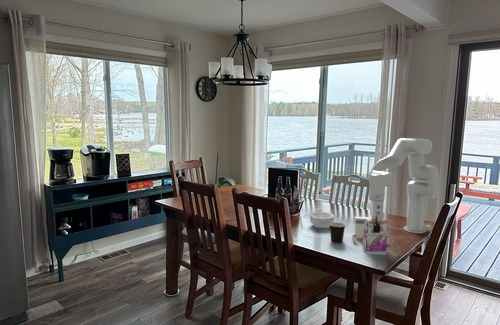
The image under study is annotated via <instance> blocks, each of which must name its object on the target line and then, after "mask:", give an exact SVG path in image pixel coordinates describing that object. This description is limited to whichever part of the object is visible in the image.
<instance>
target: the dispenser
mask: <svg viewBox="0 0 500 325" xmlns="http://www.w3.org/2000/svg"><path fill="white" fill-rule="evenodd" d="M364 219H371V216H369V217H368V216H354V228H353V229H354V231H353V233H351V241H352V243H353V244H357V239H363V235H364ZM388 239H389V236H388V235H387V245H388V242H389V241H388Z"/></svg>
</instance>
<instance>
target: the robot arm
mask: <svg viewBox="0 0 500 325" xmlns="http://www.w3.org/2000/svg"><path fill="white" fill-rule="evenodd" d="M432 150H433V142H432V141H431V139H429V138H413V137H411V138H409V137H407V138H406V137H402V138H399V139H397V141H396V142H395V143H394V146H393V147H392V149H391V150H390V152H389V153H388V155H387V156H385V157H383V158H382V159H380V160H378V161H377V162H375V163H374V164H373V166H372V167H371V169H370V170H369V174H368V176H367V180H368V182H369V190H368V200H369V201H370V207H369V209H370V210H369V216H370V217H371V219H374V229H373V232H374V233H380V219H381V220H383V219H384V202H385V193H386V192H385V188H386V187H393V186H394V185H395V184H396V183H397V181H398V180H397V179H398V177H397V176H396V174H395V173H394V172H391V171H385V170H388V169H393V168H396V167H400V166H402V165H403V164H404V162H405V160H406V159H407V158H408V175H409V177H410V178H411V179H413V180H409V182H407V184H406V192H407V193H406V194H407V207H406V225H404V226H403V231H405V232H408V233H412V234H425V233H426V230H427V229H428V230H429V229H430V230H432V229H433V228H432V225H428V224H425V223H424V222H425V221H424V220H425V219H424V218H425V201H424V199H425V198H426V199H436V198H437V197H438V195H439V190H440V189H439V188H440V187H439V183H440V182H439V174H440V173H439V170H438V167H437V166H436V165H432V164H426V163H425V155H428V154H430V153H431V151H432ZM423 198H424V199H423Z"/></svg>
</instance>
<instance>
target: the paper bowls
mask: <svg viewBox="0 0 500 325" xmlns="http://www.w3.org/2000/svg"><path fill="white" fill-rule="evenodd" d="M309 221H310V222H309V223H311V224H312V225H313V226H314V227H315V228H316V229H324V230H325V229H330V223H333V222H335V216H334V214H333V213H330V212H326V211H315V212H312V213H311V212H310V217H309Z"/></svg>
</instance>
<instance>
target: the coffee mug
mask: <svg viewBox="0 0 500 325" xmlns="http://www.w3.org/2000/svg"><path fill="white" fill-rule="evenodd" d="M345 229H346V224H345V223H344V222H339V221H337V222H335V221H334V222H333V223H330V227H329V233H330V241H331V242H332V243H333V244H343V241H344V236H345V235H344V234H345Z"/></svg>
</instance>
